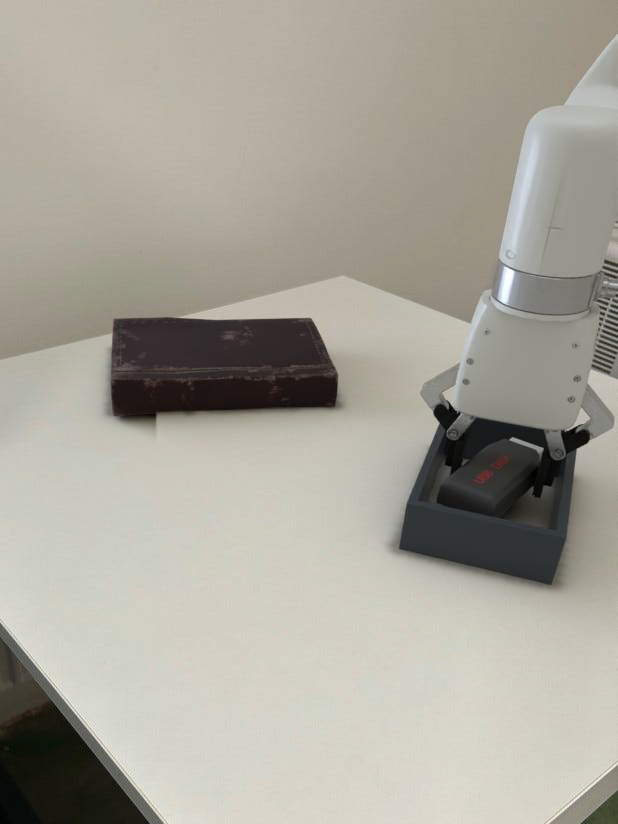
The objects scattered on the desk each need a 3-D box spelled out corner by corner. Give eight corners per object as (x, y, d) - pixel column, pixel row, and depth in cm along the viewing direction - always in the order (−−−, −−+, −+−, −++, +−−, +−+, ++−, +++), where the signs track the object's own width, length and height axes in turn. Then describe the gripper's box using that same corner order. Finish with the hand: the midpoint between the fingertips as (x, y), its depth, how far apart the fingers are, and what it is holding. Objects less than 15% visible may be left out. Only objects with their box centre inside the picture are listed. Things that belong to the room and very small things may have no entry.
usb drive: (435, 503, 73) (440, 476, 71) (497, 452, 80) (503, 426, 78) (490, 526, 70) (497, 499, 68) (549, 471, 77) (557, 445, 75)
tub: (436, 456, 86) (445, 408, 82) (563, 482, 82) (578, 432, 78) (397, 556, 72) (406, 503, 68) (548, 592, 68) (566, 538, 65)
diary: (335, 414, 93) (340, 373, 90) (113, 421, 91) (110, 380, 88) (307, 348, 108) (310, 311, 105) (115, 353, 106) (112, 315, 103)
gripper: (664, 286, 64) (599, 481, 75) (439, 258, 69) (408, 443, 80) (666, 319, 59) (596, 525, 69) (422, 286, 64) (391, 481, 74)
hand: (495, 480), depth 74 cm, fingers closed on usb drive, 6 cm apart
